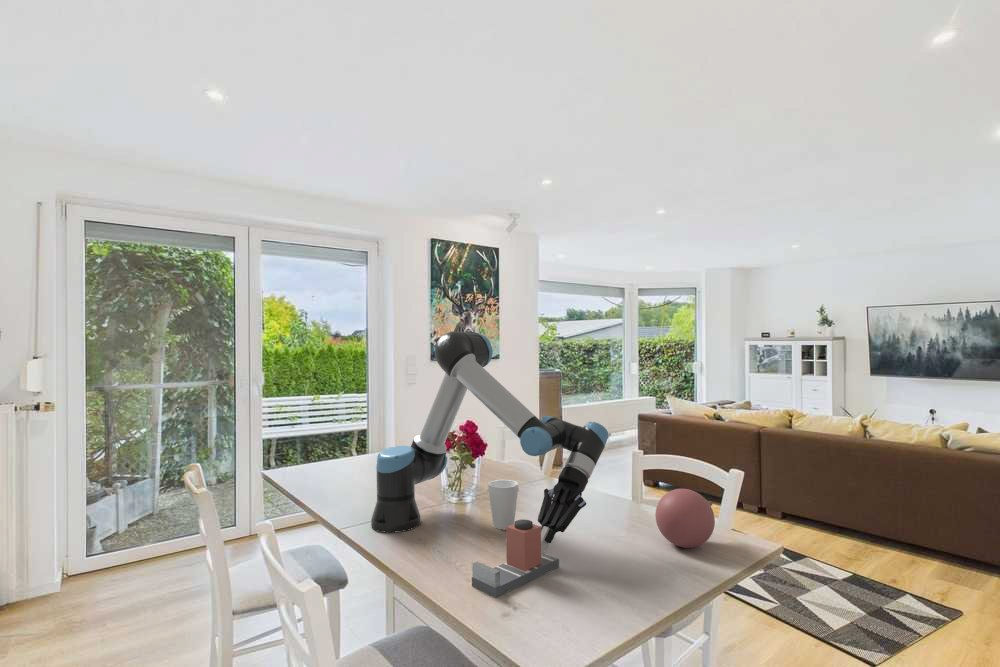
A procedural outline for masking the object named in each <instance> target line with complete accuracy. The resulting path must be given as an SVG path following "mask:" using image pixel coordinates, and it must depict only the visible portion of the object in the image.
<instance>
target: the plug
mask: <svg viewBox="0 0 1000 667" xmlns="http://www.w3.org/2000/svg"><path fill="white" fill-rule="evenodd" d="M505 530H506V531H505V533H506V535H505V536H506V537H505V538H506V562H507V564H508V565H511V566H513V567H516V568H518V569H521V570H523V571H526V570H529V569H531V568H533V567H535V566H537V565H539V564H541V525H539V524H535V523H534V522H533V521H532V520H531V519H530V520H529V519H518V520H515V521H514V524H513V525H510V526H507V527H506V529H505Z"/></svg>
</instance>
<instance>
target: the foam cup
mask: <svg viewBox="0 0 1000 667" xmlns="http://www.w3.org/2000/svg"><path fill="white" fill-rule="evenodd" d="M518 492H519V482H518V481H515V480H513V479H511V480H510V479H496V480H492V481H489V482H487V493H488V498H489V504H490V511H491V512H490V513H491V519H492V520H491V521H492V526H493V528H494V527H495V528H494V529H496V528H497V530H501V529H503V530H506V527H507V526H510V525H513V524H515V521H516V511H517V503H518V502H517V501H518V494H519V493H518Z"/></svg>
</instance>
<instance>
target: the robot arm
mask: <svg viewBox="0 0 1000 667" xmlns="http://www.w3.org/2000/svg"><path fill="white" fill-rule="evenodd" d="M493 351H494V349H493V345H492V343H491V341H490V340H489V337H487V336H486V335H484V334H483V333H479V332H476V331H454V330H453V331H449V332H446V333H444V334H442V335H441V336H440V337H439V339H438V340H437V342H436V344H435V347H434V356H435V359H436V362H437V364H438V365H439V367H440V368H441V369H442V371H444V373H445V374H444V376H443V379H442V380H441V382H440V386H439V389H438V391H437V392H436V396H435V398H434V401H433V402H432V406H431V408H430V410H429V413H428V415H427V417H426V420H425V423H424V425H423V428H422V430H421V432H420V433H419V434H416V435H415V436H414V437H413V439H412V442H411V446H408V445H397V446H391V447H388V448H384V449H383V450H381V451H379V453H378V454H377V457H376V465H375V470H376V502H375V506H374V510H373V512H372V515H371V520H370V521H371V523H370V524H371V526H372V527H371V528H372V529H373V528H374V529H375V531H377V530H378V531H377V532H381V531H385V532H384V533H396V532H395V531H401V532H404V531H403V530H406V531H409V530H408V529H410V530H412V529H411V528H413V529H415V528H417V527H419V526H420V524H421V514H420V511H419V507H418V505H417V502H416V498H415V488H416V487H415V485H417V484H421V483H424V482H426V481H430V480H432V479H435V478H436V477H438V476H439V475H441V474H442V473H443V472H444V471H445V469H446V467H447V464H448V457H447V449H448V447H447V445H446V441H447V438H448V436H449V434H450V431H451V429H452V427H453V424H454V422H455V419H456V416H457V414H458V412H459V410H460V409H461V408H460V407H461V406H462V403H463V401H464V398H465V396H466V393H467V391H469V392H470V393H471V394H473V396H475V397H476V398H477V400H479V401H480V402H481V403H482V404H483V406H484V407H486V408H487V409H488V410H489V411H490V412H491V413H493V415H495V417H496V418H498V419H499V421H500V422H502V423H503V425H505V426H506V427H507V428H508V429H509V430H510V431H511V432H512V433H513V434H514V435H515V436H516V437H517V438H519V443H520V446H521V449H522V451H523V452H524V453H525V454H527V455H528V456H531V457H538V456H539V457H540V456H544V455H546V454H547V453H549V452H550V451H553V450H555V449H558V448H562V449H564V450H567V451H569V452H570V453H569V456H568V458H567V459H566V461H565V464H564V466H563V467H562V470H561V471H560V474H559V475H558V477H557V478H558V479H557V480H558V481H557V483H556V484H555V485H554V486H553V487H552V488H550V489H548V488H545V489H544V490H543V496H544V497H543V499H542V503H541V507H540V511H539V513H538V518H537V522H538V523H539V524H540V526H541V556H543V554H545V552H546V550H547V548H548V545H549V544H551V543H552V541H553V540H554V538H555V536H556V534H557V533H558V532H560V533H564V532H565V531H566V530H567V528H568V527H569V526H570V525H571V523H572V522H573V520H574V519H575V517H576V516H577V515H578V513H579V512H580V510H582V509H583V508H585V507H586V505H587V502H586V500H585V499H584V498H583V497H582V495H583V492H584V491H585V490H586V487H587V485H588V483H589V479H590V478H591V476H592V474H593V472H594V470H595V467H596V465H597V463H598V461H599V459H600V458H601V455H602V453H603V451H604V449H605V448H606V444H607V442H608V440H609V435H610V434H609V431H608V429H607V428H606V426H604V425H602V424H601V423H598V422H596V421H588V422H586V423H585V424H584V425H583V426H580V425H576V424H574V423H571V422H568V421H566V420H563V419H561V418H558V417H556V416H550V415H544V416H543V417H542V418H541V419H539V418H538V417H537V415H535V414H534V413H533V412H532V411H530V410H529V408H527V407H526V406H525V404H523V403H522V402H521V401H520V400H519V399H518V398H517V397H516V396H514V394H512V393H511V391H509V389H507V388H506V387H505V386H504V385H502V384H501V382H499V381H498V380H497V379H496V378H495V377H494V376H493V375H492V374H490V372H488V371H487V370H486V369H485V367H486V366H488V365H489V364H490V362H491V361H492V358H493V354H494V353H493ZM416 526H417V527H416ZM414 527H415V528H414ZM374 529H373V530H374Z"/></svg>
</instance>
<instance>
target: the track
mask: <svg viewBox="0 0 1000 667" xmlns="http://www.w3.org/2000/svg"><path fill="white" fill-rule="evenodd" d="M471 566H472V567H471V568H472V570H471V571H472V575H471V576H472V577H471V586H472V587H473V588H475V589H478V590H480V591H481V592H484V593H485V594H488V595H491V596H492V597H494V598H497V597H500V596H502V595H503V594H504V595H505V594H506V593H508V592H510V591H513V590H514V589H516V588H518V587H520V586H523V585H524V584H526V583H529V582H531V581H533V580H535V579H537V578H539V577H541V576H544V575H545V573H546V574H547V572H548V573H549V571H550V572H552V571H554V570H556V569H557V568H559V567H560V561H559V558H557V557H554V556H551V555H549V554H546V553H544V554H543V556H541V564H539V565H537V566H535V567H533V568H531V569H529V570H526V571H523V570H521V569H518V568H516V567H513V566H511V565H508V564H507V561H506V562H504V563H502V564H500V565H497V566H495V567H491V566H489V565H486V564H484V563H481V562H479V561H475V562H472V564H471ZM551 570H552V571H551Z"/></svg>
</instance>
